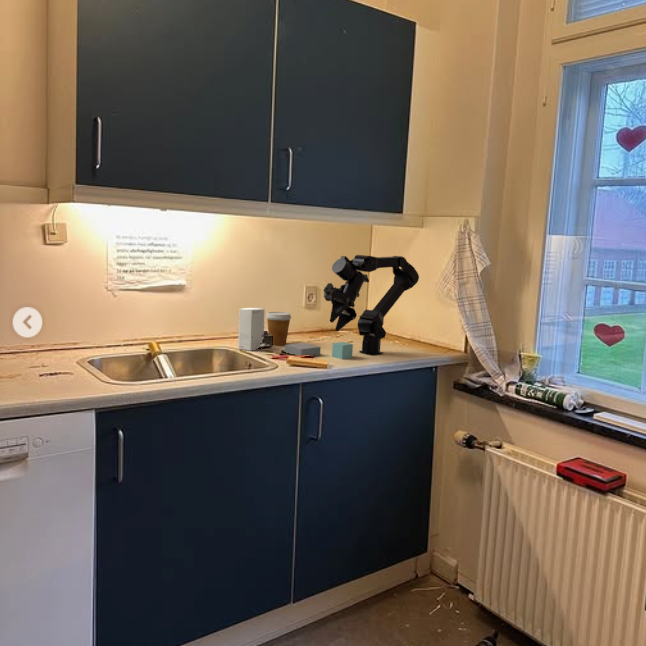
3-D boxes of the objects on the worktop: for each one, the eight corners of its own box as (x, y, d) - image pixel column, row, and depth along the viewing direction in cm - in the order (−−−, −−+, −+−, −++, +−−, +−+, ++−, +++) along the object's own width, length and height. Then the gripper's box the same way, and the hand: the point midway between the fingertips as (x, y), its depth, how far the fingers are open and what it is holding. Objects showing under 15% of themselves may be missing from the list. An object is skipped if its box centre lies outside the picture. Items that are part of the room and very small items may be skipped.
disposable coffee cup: (292, 343, 243) (293, 312, 241) (286, 347, 234) (288, 315, 232) (268, 341, 245) (269, 310, 243) (262, 345, 235) (263, 313, 234)
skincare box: (250, 351, 223) (252, 310, 221) (237, 349, 226) (238, 308, 224) (264, 348, 230) (265, 308, 228) (250, 346, 233) (252, 306, 231)
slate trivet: (303, 350, 229) (303, 342, 229) (320, 355, 223) (320, 346, 222) (284, 353, 223) (284, 344, 223) (300, 357, 216) (301, 349, 216)
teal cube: (342, 355, 224) (342, 341, 224) (352, 358, 221) (352, 344, 220) (332, 357, 221) (332, 343, 220) (341, 359, 217) (342, 345, 217)
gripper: (337, 290, 231) (319, 327, 227) (326, 269, 214) (306, 309, 210) (364, 299, 227) (346, 338, 224) (355, 279, 210) (336, 320, 206)
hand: (333, 326), depth 216 cm, fingers open, 9 cm apart
